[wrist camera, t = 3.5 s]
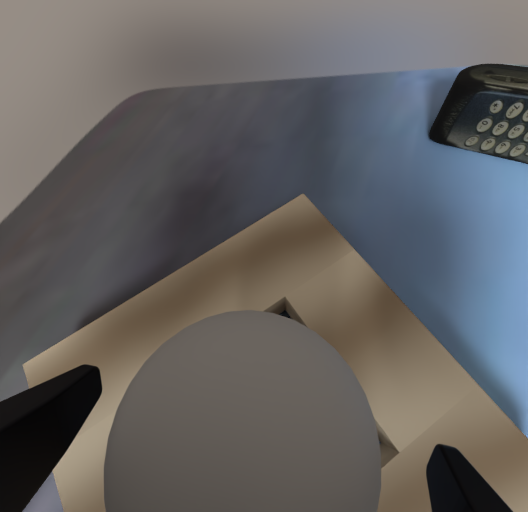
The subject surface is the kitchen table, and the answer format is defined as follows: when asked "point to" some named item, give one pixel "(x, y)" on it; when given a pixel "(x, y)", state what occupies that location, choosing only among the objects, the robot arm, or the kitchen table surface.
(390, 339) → the birch holder
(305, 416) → the lightbulb
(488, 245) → the kitchen table surface
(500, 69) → the mobile phone
